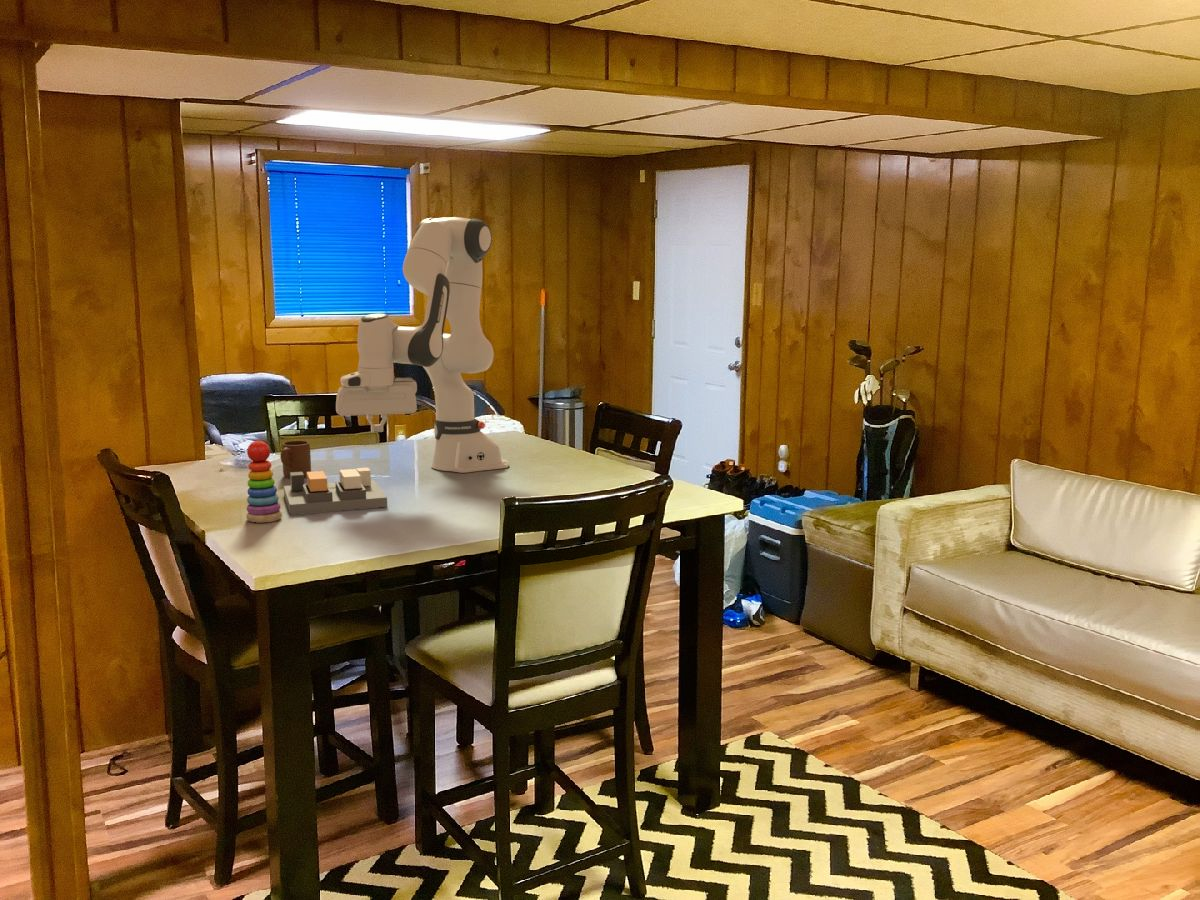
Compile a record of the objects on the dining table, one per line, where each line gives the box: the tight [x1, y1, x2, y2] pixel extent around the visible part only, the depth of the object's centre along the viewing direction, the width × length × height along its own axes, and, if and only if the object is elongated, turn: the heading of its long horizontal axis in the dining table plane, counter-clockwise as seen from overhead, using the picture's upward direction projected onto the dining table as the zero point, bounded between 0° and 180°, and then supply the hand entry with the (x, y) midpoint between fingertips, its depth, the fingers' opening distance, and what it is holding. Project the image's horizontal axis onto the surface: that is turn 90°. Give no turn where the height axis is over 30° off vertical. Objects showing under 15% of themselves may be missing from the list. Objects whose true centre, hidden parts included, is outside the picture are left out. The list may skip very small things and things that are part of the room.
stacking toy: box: [245, 440, 283, 524], centre depth 236 cm, size 8×8×19 cm
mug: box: [279, 440, 312, 479], centre depth 281 cm, size 12×8×9 cm, turn 170°
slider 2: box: [355, 467, 372, 486], centre depth 262 cm, size 3×4×4 cm
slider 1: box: [289, 472, 305, 491], centre depth 256 cm, size 3×4×4 cm
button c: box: [306, 470, 328, 492], centre depth 249 cm, size 4×9×3 cm, turn 21°
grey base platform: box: [283, 479, 388, 516], centre depth 255 cm, size 23×21×5 cm
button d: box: [339, 468, 361, 489], centre depth 251 cm, size 4×9×3 cm, turn 21°
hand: (377, 431), depth 261 cm, fingers closed
